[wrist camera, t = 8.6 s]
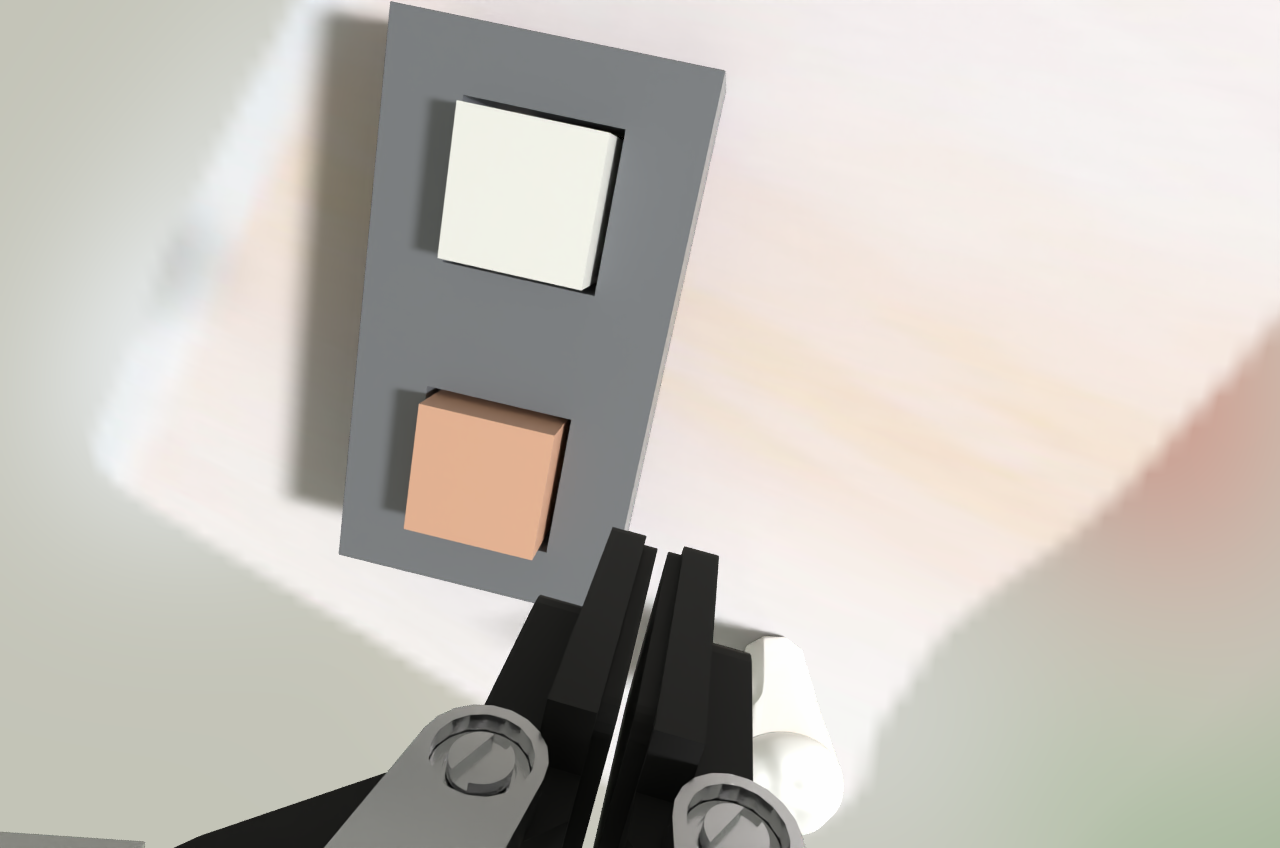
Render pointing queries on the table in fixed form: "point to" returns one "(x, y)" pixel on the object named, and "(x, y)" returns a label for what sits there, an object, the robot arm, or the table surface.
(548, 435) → the clay key
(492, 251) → the white square block
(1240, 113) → the table surface
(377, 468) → the key panel
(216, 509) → the table surface
